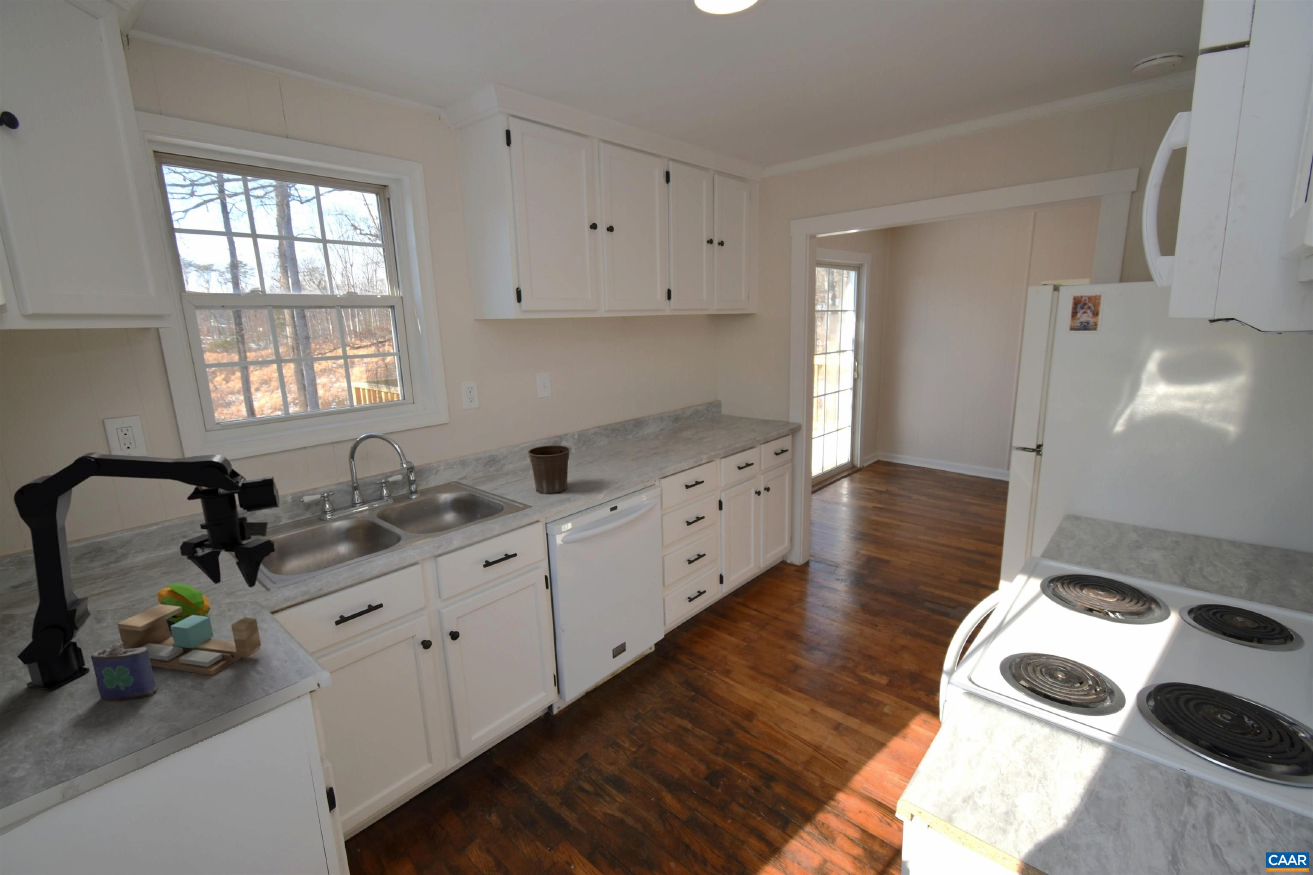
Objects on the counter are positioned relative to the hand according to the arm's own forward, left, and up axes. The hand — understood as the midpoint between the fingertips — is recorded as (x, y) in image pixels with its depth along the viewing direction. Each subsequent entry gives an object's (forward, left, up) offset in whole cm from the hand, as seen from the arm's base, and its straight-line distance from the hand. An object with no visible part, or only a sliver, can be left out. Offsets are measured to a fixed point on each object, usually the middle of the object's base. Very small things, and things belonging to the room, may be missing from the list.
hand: (234, 584), depth 122 cm
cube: (-7, +4, -10) cm, 13 cm away
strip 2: (-7, -1, -11) cm, 13 cm away
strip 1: (-11, +4, -11) cm, 16 cm away
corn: (+4, +23, -12) cm, 27 cm away
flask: (-21, +3, -12) cm, 24 cm away
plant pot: (+111, -24, -12) cm, 114 cm away
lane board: (-9, +4, -12) cm, 16 cm away
